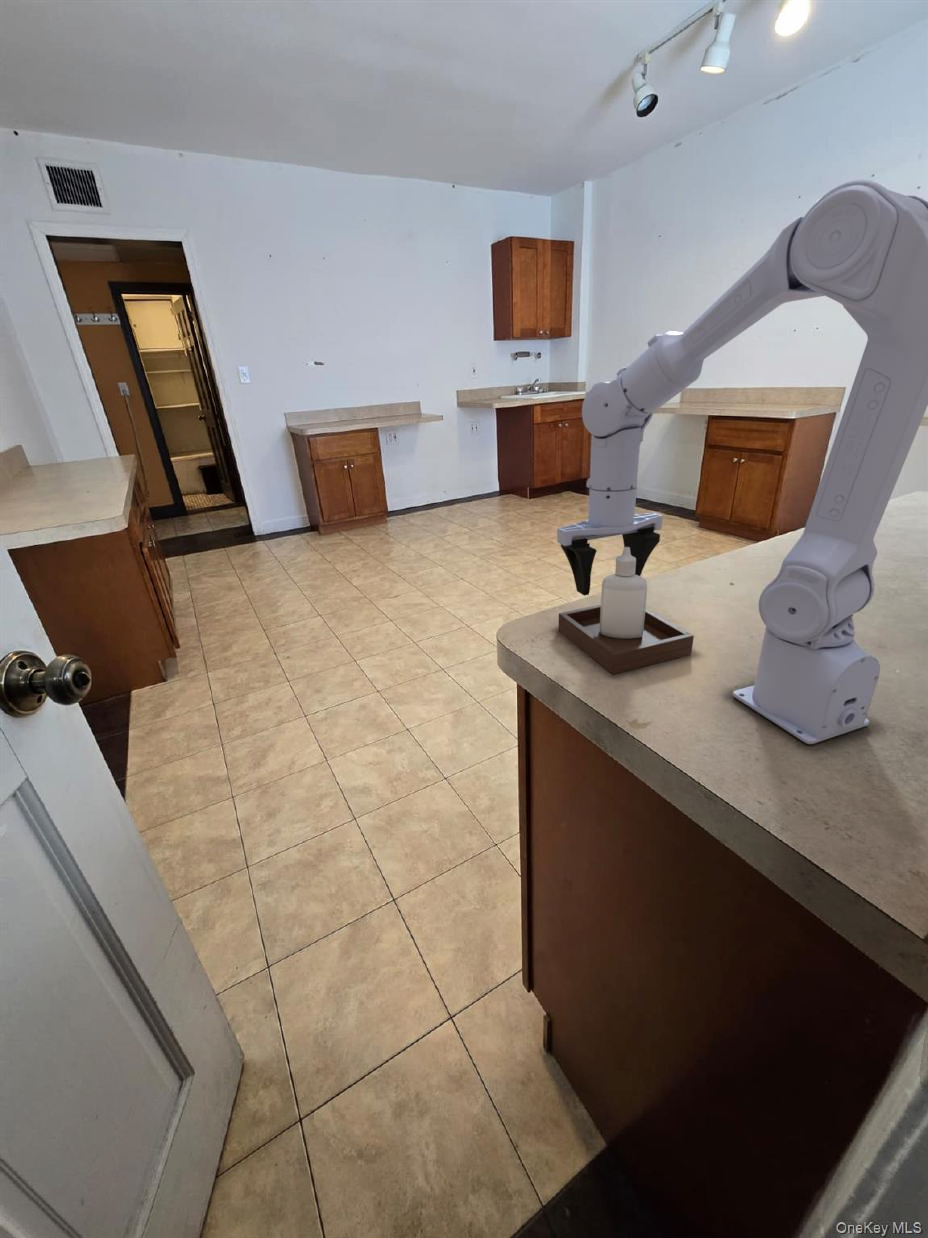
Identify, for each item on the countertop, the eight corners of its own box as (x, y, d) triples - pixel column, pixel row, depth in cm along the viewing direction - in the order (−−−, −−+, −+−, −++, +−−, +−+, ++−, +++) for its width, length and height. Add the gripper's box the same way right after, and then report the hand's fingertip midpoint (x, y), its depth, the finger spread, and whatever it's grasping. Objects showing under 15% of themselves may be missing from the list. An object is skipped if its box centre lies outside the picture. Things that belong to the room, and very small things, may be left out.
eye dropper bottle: (631, 645, 66) (638, 556, 61) (593, 633, 69) (597, 548, 64) (648, 633, 68) (656, 546, 63) (611, 622, 72) (615, 540, 67)
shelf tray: (691, 654, 65) (694, 635, 64) (612, 674, 62) (614, 655, 61) (627, 615, 77) (628, 598, 76) (558, 630, 74) (558, 613, 73)
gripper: (641, 476, 70) (634, 570, 75) (546, 489, 66) (545, 587, 71) (677, 483, 64) (666, 585, 69) (574, 498, 60) (571, 605, 65)
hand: (607, 587), depth 70 cm, fingers open, 7 cm apart
